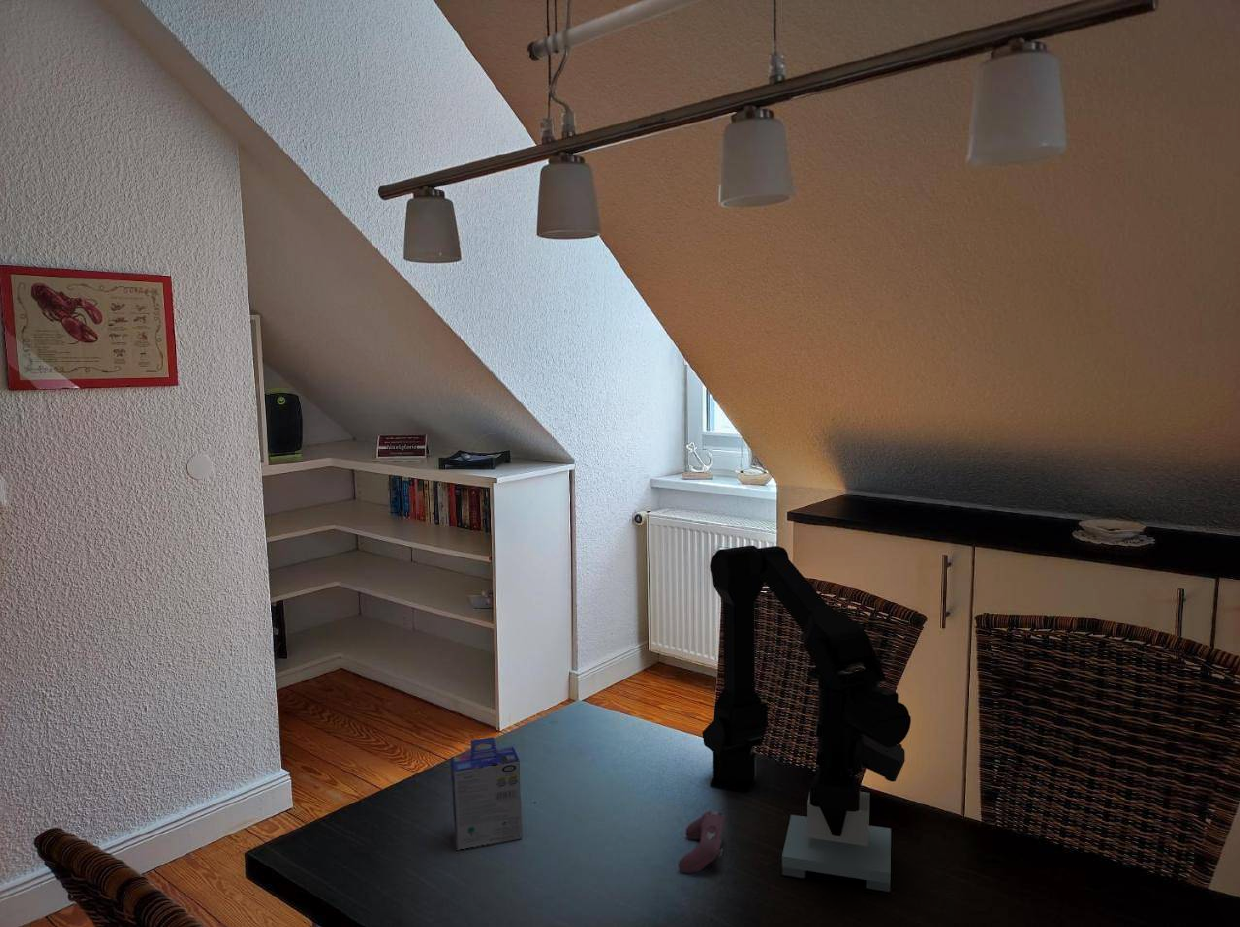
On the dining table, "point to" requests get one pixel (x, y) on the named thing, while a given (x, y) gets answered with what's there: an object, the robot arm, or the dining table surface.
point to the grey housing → (852, 827)
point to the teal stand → (838, 855)
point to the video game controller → (703, 841)
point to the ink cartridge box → (486, 796)
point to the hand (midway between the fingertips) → (837, 824)
